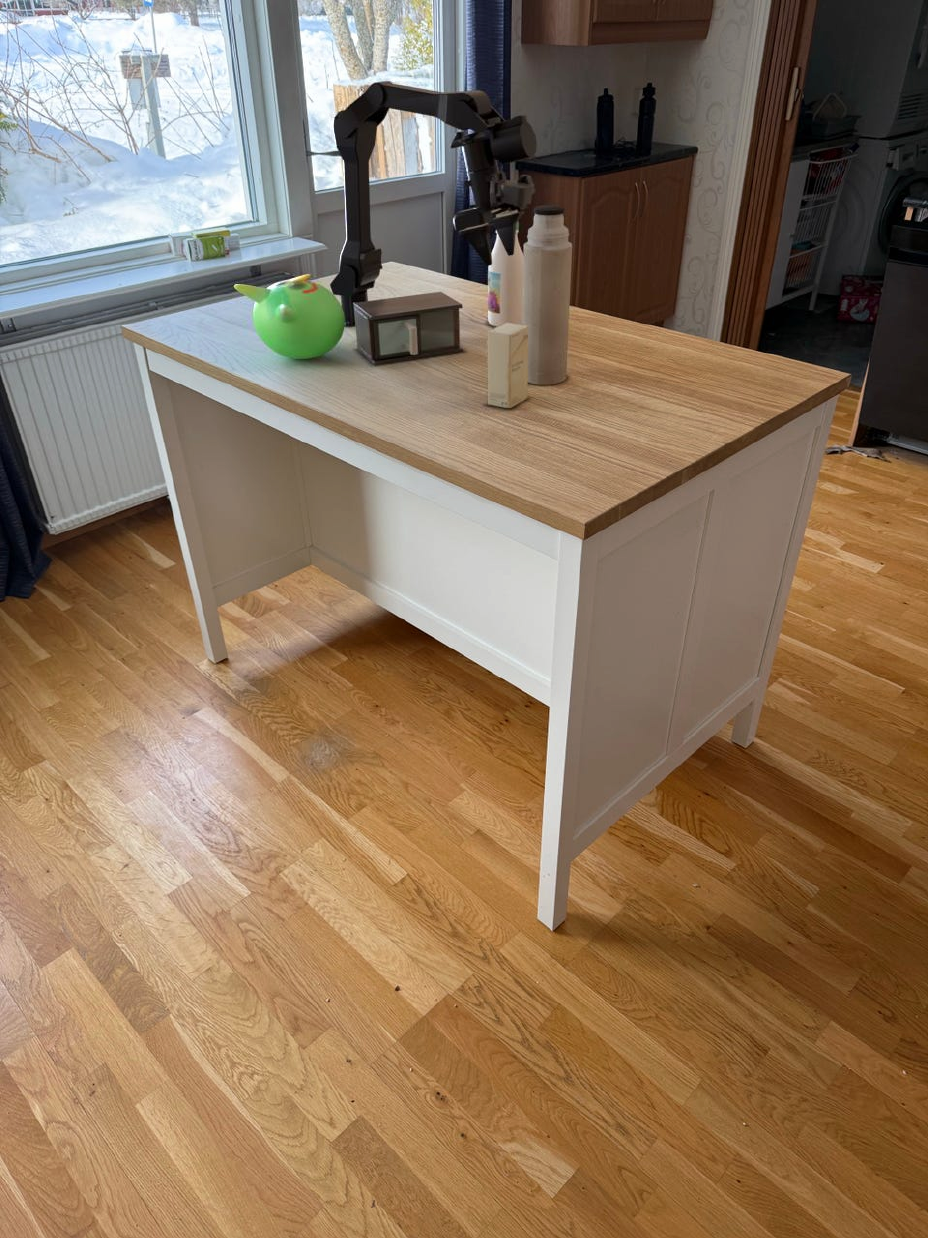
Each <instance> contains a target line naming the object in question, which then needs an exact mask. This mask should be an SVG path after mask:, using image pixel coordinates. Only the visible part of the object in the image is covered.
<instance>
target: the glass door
mask: <svg viewBox="0 0 928 1238" xmlns="http://www.w3.org/2000/svg"><path fill="white" fill-rule="evenodd" d="M373 330H374V344H375V357H376V359H381V358H388V357H394V356H401V355H408V354H411V355H416V354H418V353H421V352H422V351H421V329H420V315H419V314H415V315H408V316H400V317H393V318H386V319H378V320H373Z"/></svg>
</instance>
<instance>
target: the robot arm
mask: <svg viewBox="0 0 928 1238" xmlns="http://www.w3.org/2000/svg"><path fill="white" fill-rule="evenodd" d="M391 109H392V110H397V111H402V112H406V113H412V114H417V115H423V116H429V117H433V118H436V119H438V120H440V121H441V122H443V124H446V125H447V126H450V127H452V128H455V129H457V130H459V131H457V132H455V136H454V138H453V139H452V141H451V143H450V145H449V147H450V149H457V148H461V150H462V155H463V162H464V165H465V169H466V171H465V172H466V175H467V180H464V181H463V183H464V187H465V188H468V187H469V189H470V195H471V199H472V204H470V205H469V208H468V209H464V210H461V211H458V212H455V214H454V216H453V218H452V222H453V226H454V231H459V235H463V237H464V238H465V239H466V241H467V242H468V244H470V246H472V248H473V249H474V251H475V252H476V254H477V255H478V256H479V258H480V259H481V260H482V262H483V263H484V265H485V266H487V267H488V266H489V265H492V254H491V253H492V247H491V237H490V235H491V231H492V230H493V227H494V228H495V232H496V231H497V233H498V235H499V237H500V240H501V242H502V244H503V246H504V248H505V250H506V252H507V254H508V256H511V255H514V247H515V234H516V226H517V222H519V220H520V219H521V217H522V216H523V215H524V214H525V211H524V210H525V209H528V205H531V204H532V197H533V194H535V193H536V188H535V183H534V181H533V178H532V176H531V175H528V174H523V175H520V176H519V177H518V179H517V180H516V179H514V180H508V179H507V175H506V173H505V172H504V170H502V171H500V169H499V164H498V162H499V163H500V164H501V165H507V164H511V163H516V162H520V161H523V160H527V159H532V158H534V157H535V155H536V153H537V148H538V147H537V145H538V143H537V142H538V141H537V135H536V133H535V132H534V129H533V126H532V125H531V124H530V123H529V122H528V118H527V115H526V114H521V115H516V116H514V117H512V118H510V119H507V120H506V119H505V118H504V117H503V115H501V114H500V113H499V112H498V111H497V110H496V109H495V108H494V107H493V106H492V102H491V99H490V97H489V96H488V93H486V92H485V91H483V90H480V89H479V90H478V89H477V90H463V91H450V92H447V91H446V92H442V91H438V90H433V89H432V90H431V89H426V88H422V87H421V88H420V87H414V86H409V85H403V84H398V83H393V82H391V81H390V80H385V81H375V82H373V83H371V84H370V85H369V86H368V88H367V89H366V90H365V91H363V93H362V94H361V95H360V96H358V97H357V98H356V99H355V100H353V101H352V102H351V103H350V104H348V105H347V107H346V108H345V109H341V110H339V111H338V112H337V113H336V114H335V116H334V117H333V120H332V131H333V137H334V143H335V147H336V149H337V151H338V153H339V155H340V157H341V159H342V161H343V162H342V163H343V180H344V205H345V227H346V228H345V232H346V239H345V243H344V245H343V249H342V251H341V254H340V259H339V269H338V273H337V274H336V275H335V277H334V278H333V280H332V281H331V282H330V283H329V287H330V289H331V293H332V294H333V295H334V296H340V305H341V307H342V309H343V312H344V317H345V327H349V326H350V327H351V326H355V315H354V304H353V303H357V302H365V301H369V297H368V296H369V295H368V294H369V293H368V290H370V289H373V288H374V287H375V284H376V280H377V278H378V277H379V276H380V273H381V270H383V264H382V254H383V251H382V248H380V247H377V248H376V246H375V245H374V243H373V241H372V235H371V234H372V232H371V231H372V230H371V229H372V228H371V194H370V192H371V191H370V188H371V187H370V160H371V156H372V154H373V151H374V149H375V146H376V142H377V132H378V127H379V125H381V124H382V122H383V121H384V120H385V119H386V117H387V115H388V113H389V111H390V110H391ZM468 130H471V131H472V132H469V133H466V132H464V131H468ZM484 132H489V135H486V136H485V134H484ZM493 217H494V218H493ZM491 222H492V223H491ZM497 233H496V234H497Z"/></svg>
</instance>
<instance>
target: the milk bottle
mask: <svg viewBox="0 0 928 1238" xmlns="http://www.w3.org/2000/svg"><path fill="white" fill-rule="evenodd" d="M519 226H520V223H519V221H518V222H517V226H516V234H515V247H514V255H511V256H508V254H507V252H506V250H505V248H504V246H503V244H502V242H501V240H500V237H499V235H498V233H497V231H496V230H495V233H496V239H495V242H494V246H493V249H492V250H491V254H492V265H489V266H487V267H488V270H487V316H488V317H487V318H488V319H487V321H488V323H489V324H490V325H491V326H495V327H498V326H500V325H502V324H504V323H512V324H519V325H522V315H523V265H524V252H523V251H522V247H521V246H520V241H519V238H518V233H520V232H519Z"/></svg>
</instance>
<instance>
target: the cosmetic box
mask: <svg viewBox="0 0 928 1238" xmlns="http://www.w3.org/2000/svg"><path fill="white" fill-rule="evenodd" d="M487 386H488V387H487V395H488V396H487V403H488V405H489V406H494V407H499V408H502V409H503V408H504V409H512V408H513V407H515V406H517V405H518V404H521V403H522V402H523V401H525V400H526V399H528V326H527V325H522V324H521V325H519V324H512V323H504V324H502V325H500V326H495V327H494V328H492V329H490V330H488V331H487Z"/></svg>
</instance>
